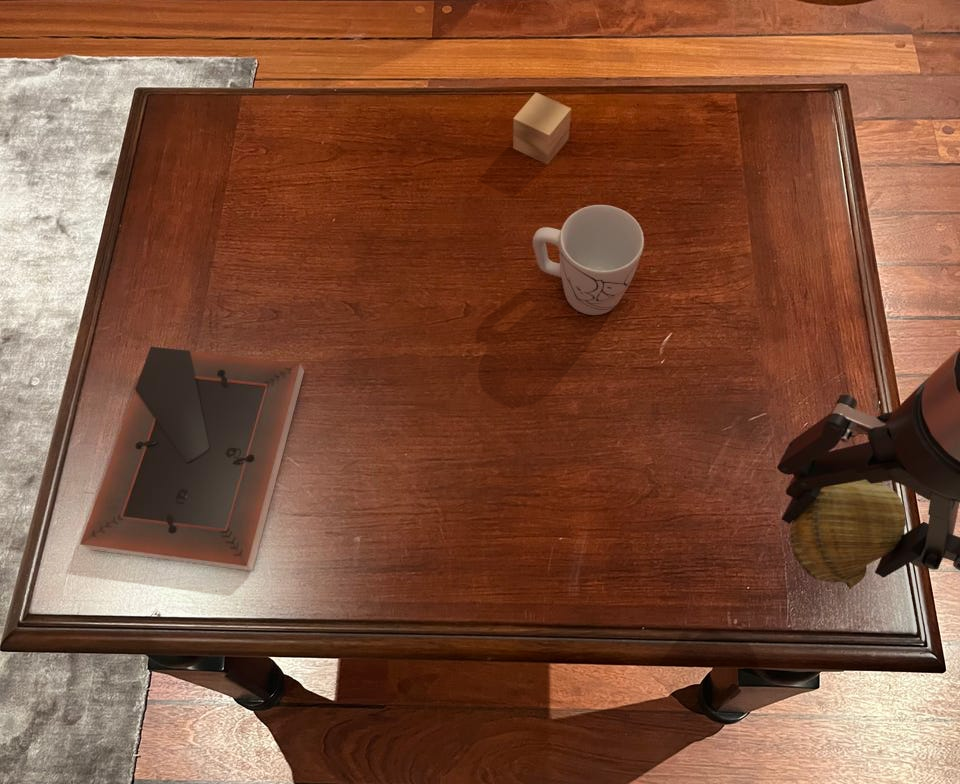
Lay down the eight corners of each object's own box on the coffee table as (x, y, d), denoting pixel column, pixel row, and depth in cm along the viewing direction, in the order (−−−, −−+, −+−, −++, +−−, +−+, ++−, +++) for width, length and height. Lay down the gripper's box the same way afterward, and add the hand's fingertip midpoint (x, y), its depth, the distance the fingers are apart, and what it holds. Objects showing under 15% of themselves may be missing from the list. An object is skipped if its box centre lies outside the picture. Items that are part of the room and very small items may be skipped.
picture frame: (159, 357, 87) (91, 550, 78) (150, 346, 85) (78, 543, 76) (305, 373, 86) (253, 571, 76) (300, 362, 83) (246, 565, 74)
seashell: (823, 591, 68) (917, 600, 62) (772, 576, 65) (867, 584, 58) (831, 480, 71) (923, 478, 64) (783, 460, 67) (875, 456, 61)
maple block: (568, 138, 99) (571, 108, 94) (547, 165, 97) (549, 135, 93) (534, 122, 100) (535, 92, 96) (513, 148, 99) (513, 118, 94)
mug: (518, 302, 89) (519, 248, 80) (545, 244, 92) (549, 186, 83) (616, 334, 86) (629, 283, 78) (640, 274, 90) (655, 218, 81)
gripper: (1190, 458, 44) (975, 564, 65) (842, 293, 50) (745, 438, 70) (1155, 570, 42) (942, 643, 62) (792, 382, 47) (706, 506, 68)
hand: (838, 534), depth 66 cm, fingers closed on seashell, 7 cm apart
